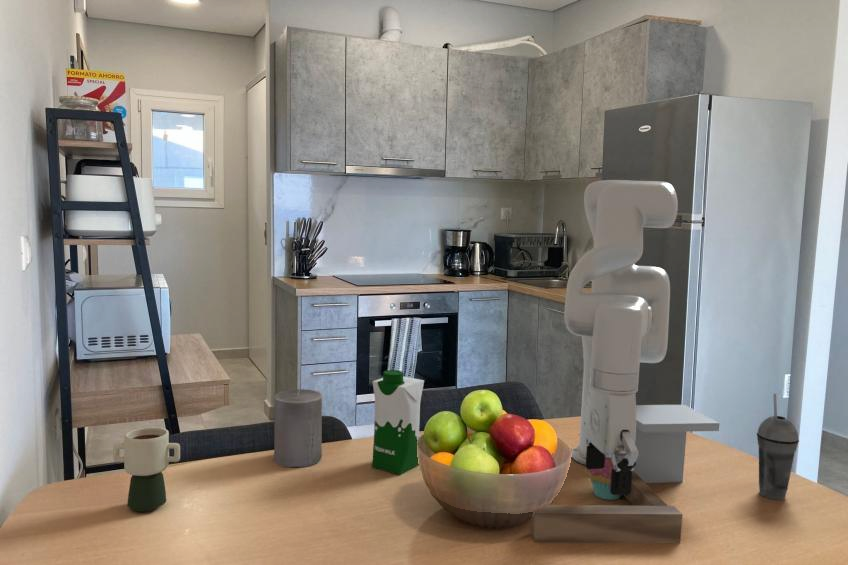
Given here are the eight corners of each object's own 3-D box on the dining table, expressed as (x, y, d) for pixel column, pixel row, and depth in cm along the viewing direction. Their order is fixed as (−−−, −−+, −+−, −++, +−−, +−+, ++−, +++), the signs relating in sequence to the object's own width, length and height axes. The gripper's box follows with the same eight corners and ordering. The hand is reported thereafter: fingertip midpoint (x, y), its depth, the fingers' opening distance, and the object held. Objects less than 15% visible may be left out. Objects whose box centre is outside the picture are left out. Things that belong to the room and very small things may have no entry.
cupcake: (639, 498, 129) (643, 436, 128) (608, 508, 124) (613, 443, 123) (604, 482, 136) (607, 424, 135) (573, 491, 131) (577, 430, 130)
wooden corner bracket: (510, 490, 131) (511, 464, 131) (632, 491, 133) (634, 466, 132) (534, 543, 110) (536, 513, 110) (680, 543, 112) (682, 514, 111)
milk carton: (365, 467, 139) (368, 370, 137) (391, 455, 147) (394, 363, 145) (401, 477, 135) (404, 378, 133) (425, 464, 142) (429, 369, 140)
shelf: (609, 481, 137) (614, 405, 136) (678, 479, 140) (684, 404, 138) (637, 506, 125) (643, 424, 124) (712, 504, 128) (719, 423, 126)
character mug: (184, 497, 122) (184, 426, 121) (175, 515, 115) (175, 439, 114) (120, 498, 121) (119, 426, 119) (106, 516, 114) (106, 440, 112)
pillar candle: (298, 448, 149) (298, 380, 148) (331, 458, 144) (332, 388, 142) (263, 460, 141) (263, 389, 140) (297, 472, 136) (297, 398, 134)
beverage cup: (798, 505, 129) (808, 401, 127) (757, 500, 130) (766, 397, 128) (786, 489, 136) (796, 391, 134) (747, 485, 137) (755, 388, 135)
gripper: (571, 365, 118) (565, 460, 120) (615, 396, 101) (607, 506, 103) (612, 364, 119) (606, 458, 122) (662, 395, 102) (654, 503, 105)
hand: (606, 480), depth 113 cm, fingers open, 9 cm apart
